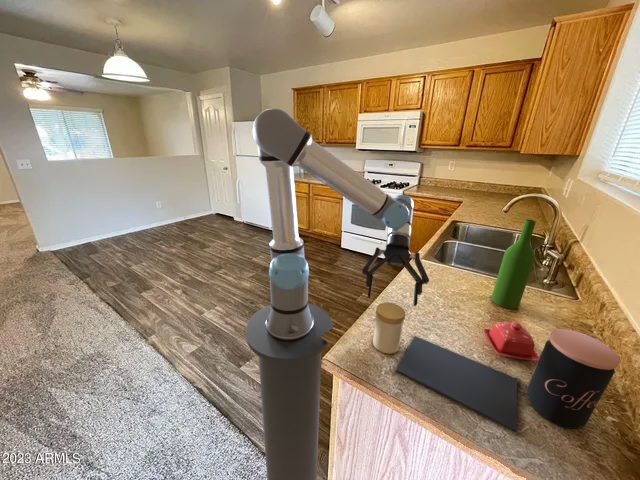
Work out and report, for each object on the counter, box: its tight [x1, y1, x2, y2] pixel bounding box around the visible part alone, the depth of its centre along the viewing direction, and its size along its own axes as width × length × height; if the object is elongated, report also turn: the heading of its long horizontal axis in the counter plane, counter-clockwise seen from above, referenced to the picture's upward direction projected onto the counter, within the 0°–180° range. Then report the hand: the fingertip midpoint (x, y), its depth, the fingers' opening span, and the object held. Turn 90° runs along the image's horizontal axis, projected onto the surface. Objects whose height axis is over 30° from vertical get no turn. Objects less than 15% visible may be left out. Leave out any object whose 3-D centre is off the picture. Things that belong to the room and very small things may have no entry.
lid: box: [375, 302, 406, 324], centre depth 74 cm, size 8×8×2 cm
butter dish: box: [483, 321, 540, 362], centre depth 77 cm, size 12×12×8 cm
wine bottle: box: [490, 218, 537, 310], centre depth 95 cm, size 9×9×32 cm
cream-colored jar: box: [372, 314, 404, 354], centre depth 76 cm, size 8×8×11 cm
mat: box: [395, 335, 518, 433], centre depth 68 cm, size 26×16×1 cm, turn 55°
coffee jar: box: [526, 328, 621, 429], centre depth 57 cm, size 11×11×18 cm
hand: (391, 300), depth 80 cm, fingers open, 13 cm apart
